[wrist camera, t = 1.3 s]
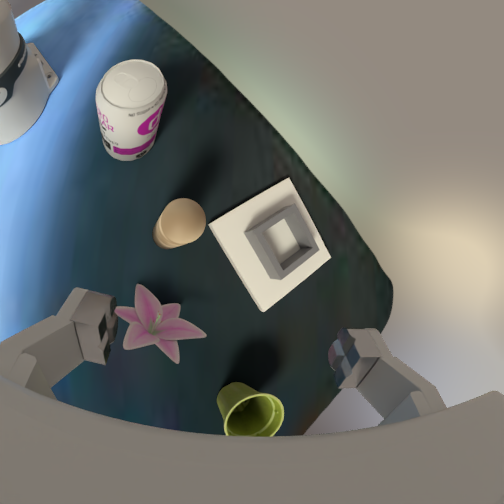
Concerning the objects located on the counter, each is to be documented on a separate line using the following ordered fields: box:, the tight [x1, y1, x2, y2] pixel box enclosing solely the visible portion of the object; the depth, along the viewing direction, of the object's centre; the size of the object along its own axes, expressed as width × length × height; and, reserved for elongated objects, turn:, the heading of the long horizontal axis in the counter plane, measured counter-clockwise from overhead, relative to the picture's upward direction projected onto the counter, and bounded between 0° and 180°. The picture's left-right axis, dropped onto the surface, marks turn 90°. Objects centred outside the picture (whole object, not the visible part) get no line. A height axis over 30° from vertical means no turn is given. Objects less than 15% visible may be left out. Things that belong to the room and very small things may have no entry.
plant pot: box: [217, 382, 284, 437], centre depth 39 cm, size 9×9×9 cm
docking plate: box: [208, 178, 331, 312], centre depth 44 cm, size 16×16×5 cm
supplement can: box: [96, 60, 167, 161], centre depth 30 cm, size 8×8×15 cm
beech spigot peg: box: [152, 198, 206, 249], centre depth 33 cm, size 4×4×14 cm
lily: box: [114, 284, 207, 364], centre depth 35 cm, size 12×12×10 cm
